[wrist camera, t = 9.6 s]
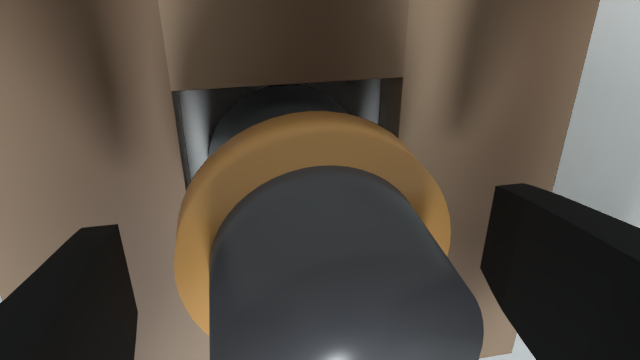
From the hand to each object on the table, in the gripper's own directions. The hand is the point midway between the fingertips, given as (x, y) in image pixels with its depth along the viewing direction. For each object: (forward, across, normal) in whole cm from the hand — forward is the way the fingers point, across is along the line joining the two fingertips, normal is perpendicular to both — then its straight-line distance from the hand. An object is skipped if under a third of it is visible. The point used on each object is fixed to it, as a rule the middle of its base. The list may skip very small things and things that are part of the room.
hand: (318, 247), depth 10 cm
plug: (+4, 0, 0) cm, 4 cm away
